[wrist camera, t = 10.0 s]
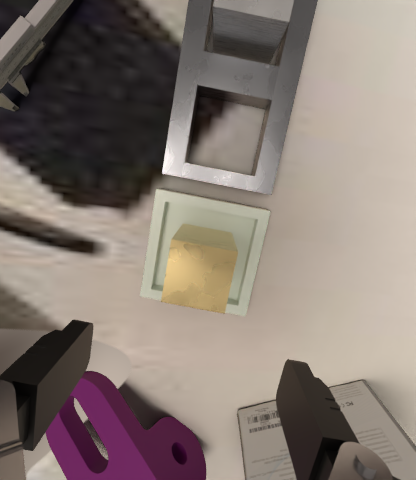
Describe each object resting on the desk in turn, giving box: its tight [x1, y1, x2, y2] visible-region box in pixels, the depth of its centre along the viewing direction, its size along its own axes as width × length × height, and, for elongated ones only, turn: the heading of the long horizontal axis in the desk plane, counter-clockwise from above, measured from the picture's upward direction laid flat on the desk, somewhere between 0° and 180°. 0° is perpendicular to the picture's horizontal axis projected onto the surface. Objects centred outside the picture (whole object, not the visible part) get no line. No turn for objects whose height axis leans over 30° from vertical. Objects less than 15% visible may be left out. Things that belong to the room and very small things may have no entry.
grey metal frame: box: [162, 0, 318, 195], centre depth 25 cm, size 18×10×3 cm, turn 169°
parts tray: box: [140, 188, 271, 316], centre depth 29 cm, size 11×11×2 cm
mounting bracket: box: [46, 371, 206, 480], centre depth 33 cm, size 9×8×18 cm
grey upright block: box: [213, 0, 294, 64], centre depth 21 cm, size 5×5×8 cm
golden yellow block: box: [161, 223, 238, 314], centre depth 25 cm, size 5×5×8 cm
